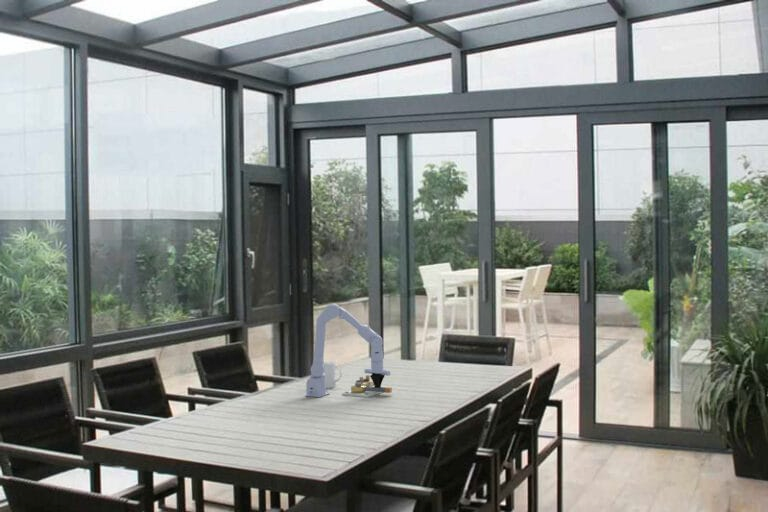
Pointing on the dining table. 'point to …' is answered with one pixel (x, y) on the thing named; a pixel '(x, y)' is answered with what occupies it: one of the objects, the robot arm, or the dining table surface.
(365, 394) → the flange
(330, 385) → the mug
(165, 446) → the dining table surface
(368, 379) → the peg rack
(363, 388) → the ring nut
